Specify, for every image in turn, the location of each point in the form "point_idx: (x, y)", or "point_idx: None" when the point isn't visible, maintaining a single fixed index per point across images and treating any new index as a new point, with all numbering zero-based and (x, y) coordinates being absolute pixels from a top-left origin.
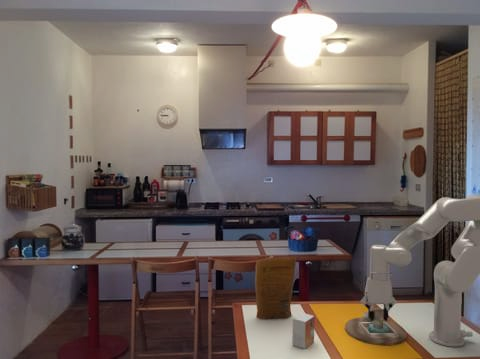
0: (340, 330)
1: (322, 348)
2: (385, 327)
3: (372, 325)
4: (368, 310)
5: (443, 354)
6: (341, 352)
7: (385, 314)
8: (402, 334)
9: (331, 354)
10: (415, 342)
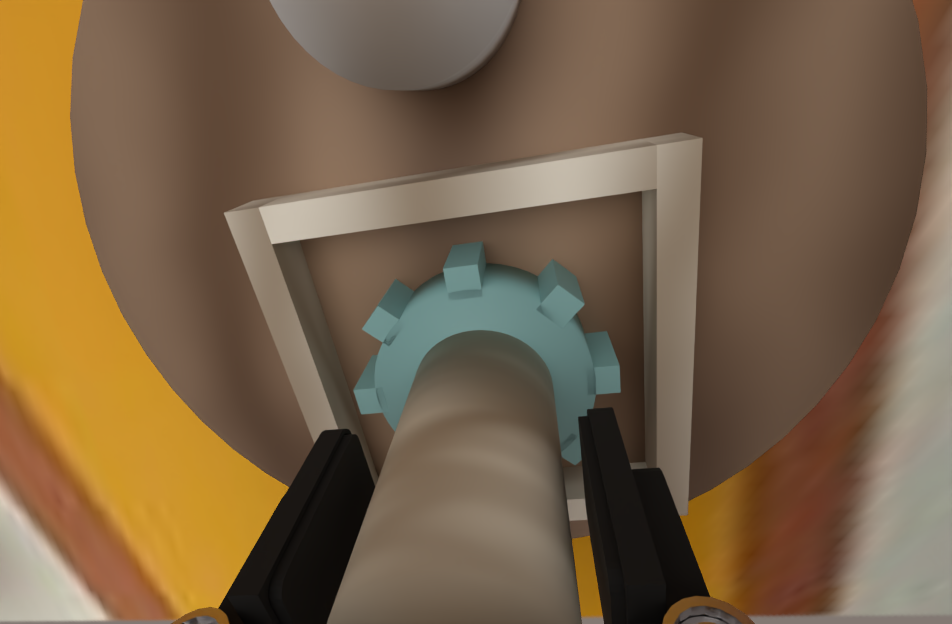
0: (82, 255)
1: (50, 565)
2: (584, 403)
3: (414, 356)
4: (224, 607)
5: (944, 614)
6: (181, 602)
7: (604, 617)
8: (770, 406)
9: (127, 620)
10: (840, 454)
